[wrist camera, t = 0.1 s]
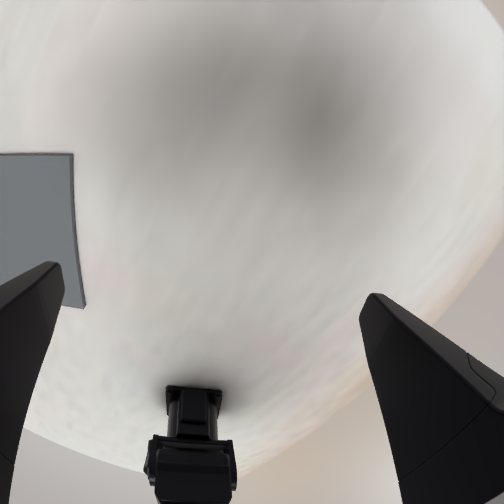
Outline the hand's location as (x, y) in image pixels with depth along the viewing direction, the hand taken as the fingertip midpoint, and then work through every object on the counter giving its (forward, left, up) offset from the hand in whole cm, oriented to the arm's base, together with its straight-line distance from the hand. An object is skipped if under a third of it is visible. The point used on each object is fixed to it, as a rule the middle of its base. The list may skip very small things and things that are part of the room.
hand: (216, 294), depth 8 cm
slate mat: (-7, +18, -15) cm, 24 cm away
